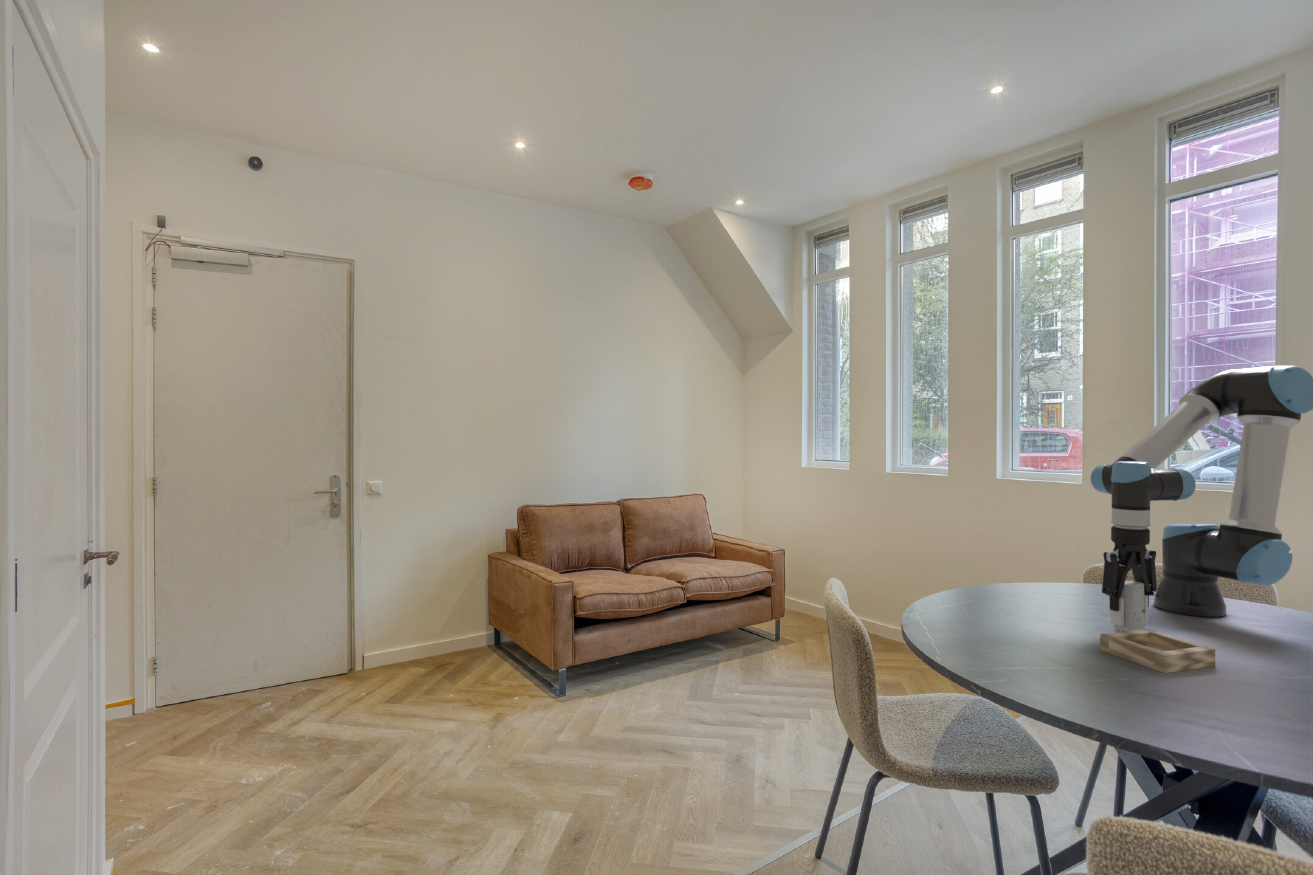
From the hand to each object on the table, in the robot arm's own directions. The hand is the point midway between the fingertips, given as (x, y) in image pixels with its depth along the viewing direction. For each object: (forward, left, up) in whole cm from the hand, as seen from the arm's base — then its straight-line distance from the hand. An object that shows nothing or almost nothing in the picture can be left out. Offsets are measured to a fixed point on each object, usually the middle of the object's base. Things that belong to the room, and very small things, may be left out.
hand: (1129, 622), depth 158 cm
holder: (+10, +14, -3) cm, 17 cm away
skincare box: (0, 0, -3) cm, 3 cm away
